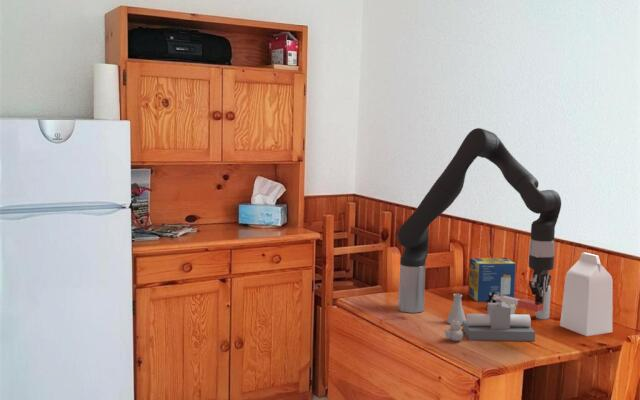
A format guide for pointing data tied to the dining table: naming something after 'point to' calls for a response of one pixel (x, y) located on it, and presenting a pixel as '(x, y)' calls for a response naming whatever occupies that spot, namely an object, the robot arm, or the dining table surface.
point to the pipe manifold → (499, 325)
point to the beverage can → (545, 306)
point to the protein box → (491, 278)
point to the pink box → (520, 302)
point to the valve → (502, 302)
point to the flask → (457, 310)
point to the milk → (587, 297)
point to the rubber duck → (454, 331)
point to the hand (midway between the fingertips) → (538, 306)
